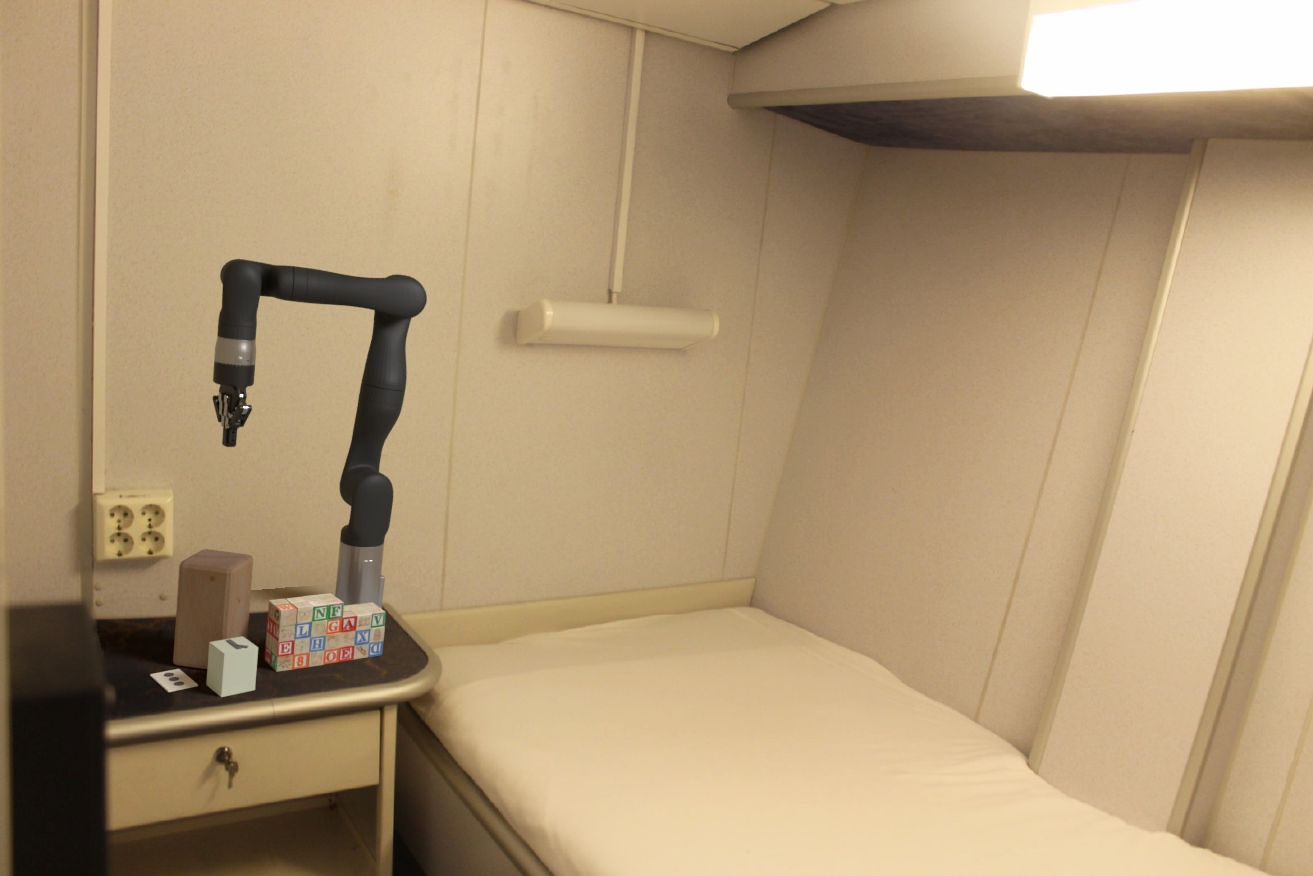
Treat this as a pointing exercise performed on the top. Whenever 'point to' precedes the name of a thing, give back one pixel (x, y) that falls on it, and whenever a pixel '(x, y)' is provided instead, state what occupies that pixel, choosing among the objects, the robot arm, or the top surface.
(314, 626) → the stack of blocks
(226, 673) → the digit block
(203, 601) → the wooden block
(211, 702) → the top surface
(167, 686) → the count card
